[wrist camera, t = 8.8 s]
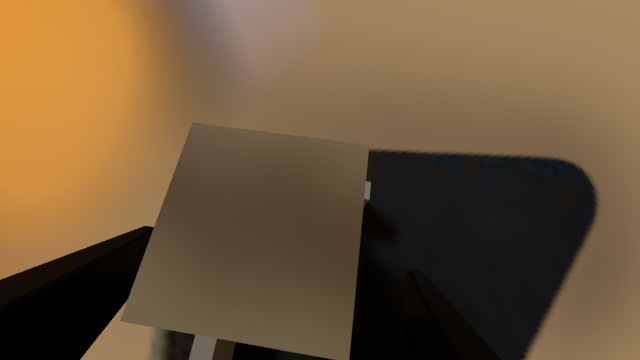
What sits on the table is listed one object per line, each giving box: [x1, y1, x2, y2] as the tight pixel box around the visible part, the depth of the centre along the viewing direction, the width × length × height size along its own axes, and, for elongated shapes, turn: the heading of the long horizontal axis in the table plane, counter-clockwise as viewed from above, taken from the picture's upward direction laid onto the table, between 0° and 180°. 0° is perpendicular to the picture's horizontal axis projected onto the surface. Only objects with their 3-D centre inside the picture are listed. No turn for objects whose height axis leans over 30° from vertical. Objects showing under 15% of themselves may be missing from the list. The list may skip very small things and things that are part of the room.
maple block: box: [120, 123, 369, 360], centre depth 12 cm, size 5×5×13 cm
